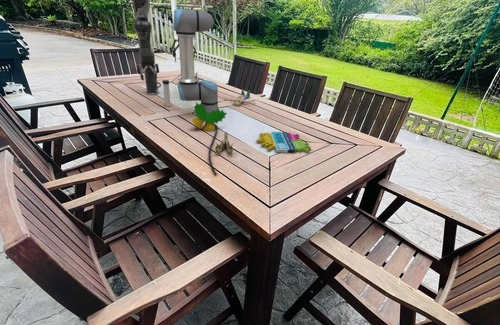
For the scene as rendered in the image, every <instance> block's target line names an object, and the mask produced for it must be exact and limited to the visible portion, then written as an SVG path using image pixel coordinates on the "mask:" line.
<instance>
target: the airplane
mask: <svg viewBox="0 0 500 325" xmlns="http://www.w3.org/2000/svg"><path fill="white" fill-rule="evenodd" d="M194 75H195V79H196V80H197V83H200V81H201V80H204V78H198V71H196V73H195V74H194ZM180 79H181V78H177V80H178V81H179V80H180Z"/></svg>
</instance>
